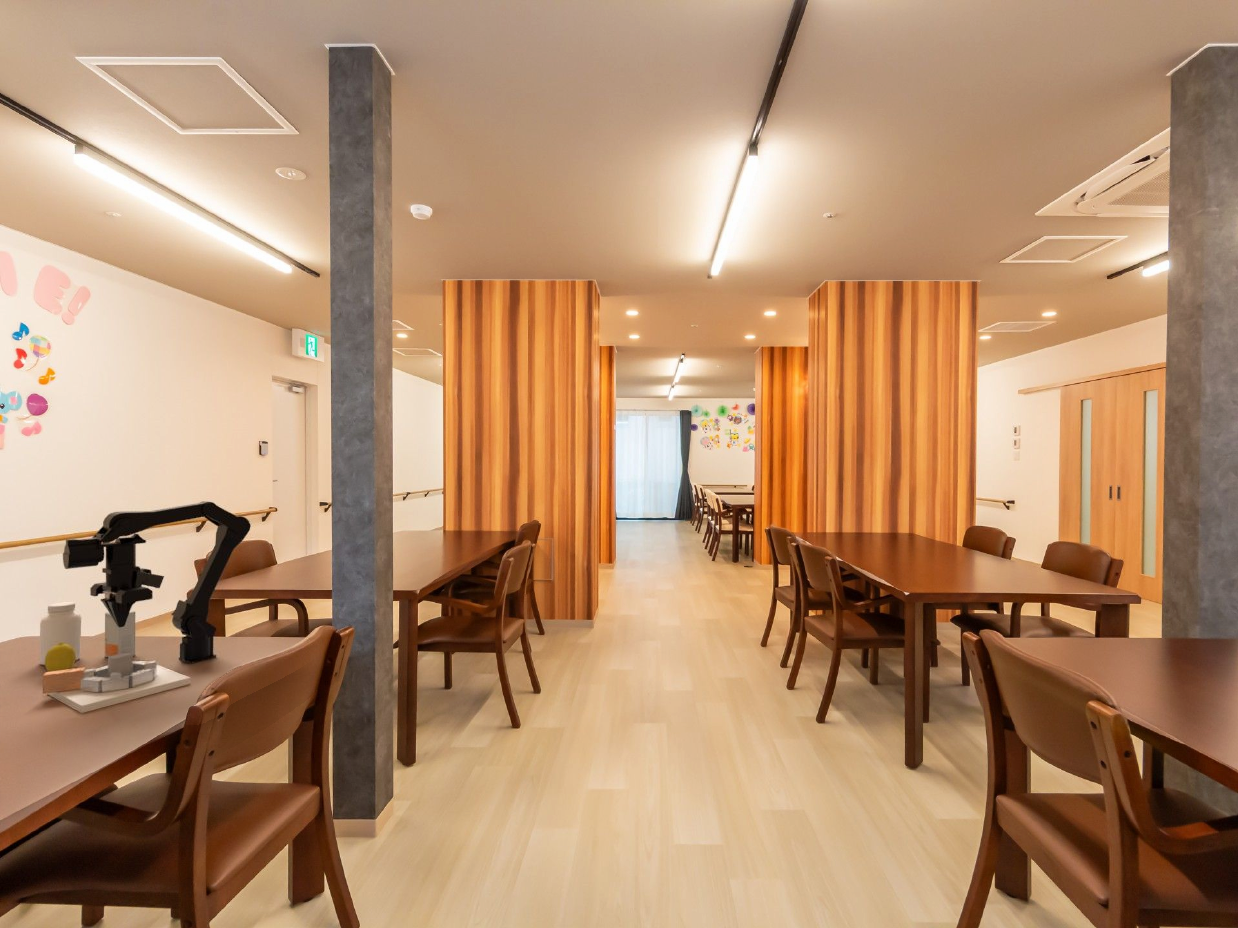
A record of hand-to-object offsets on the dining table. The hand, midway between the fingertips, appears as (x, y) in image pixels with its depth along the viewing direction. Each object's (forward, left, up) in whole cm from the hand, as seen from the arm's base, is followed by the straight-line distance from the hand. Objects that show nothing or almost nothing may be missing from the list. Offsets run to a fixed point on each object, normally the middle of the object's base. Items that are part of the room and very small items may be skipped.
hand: (121, 626), depth 149 cm
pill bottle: (+4, -26, -12) cm, 29 cm away
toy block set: (+7, +9, -10) cm, 15 cm away
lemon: (+8, -12, -12) cm, 19 cm away
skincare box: (-6, -18, -12) cm, 23 cm away
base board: (+4, +11, -12) cm, 16 cm away
